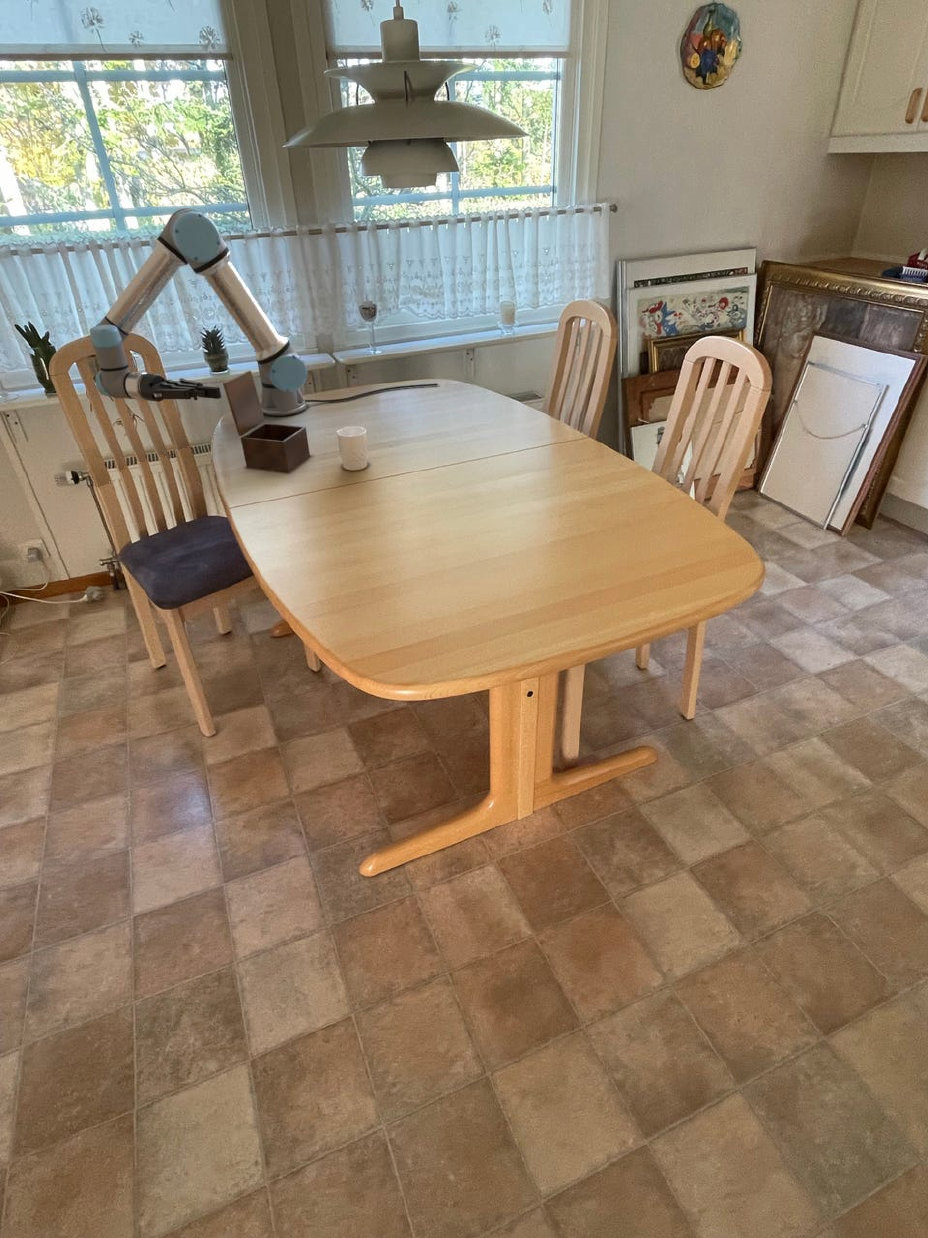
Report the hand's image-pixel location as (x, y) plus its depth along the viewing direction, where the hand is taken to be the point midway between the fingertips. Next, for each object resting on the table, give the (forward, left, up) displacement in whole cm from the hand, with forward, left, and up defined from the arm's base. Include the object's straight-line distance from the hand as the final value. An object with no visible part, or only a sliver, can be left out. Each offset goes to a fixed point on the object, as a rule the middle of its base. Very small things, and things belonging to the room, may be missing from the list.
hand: (218, 393), depth 191 cm
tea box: (-11, +11, -18) cm, 24 cm away
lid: (-6, +6, -2) cm, 8 cm away
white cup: (-29, +25, -19) cm, 42 cm away
